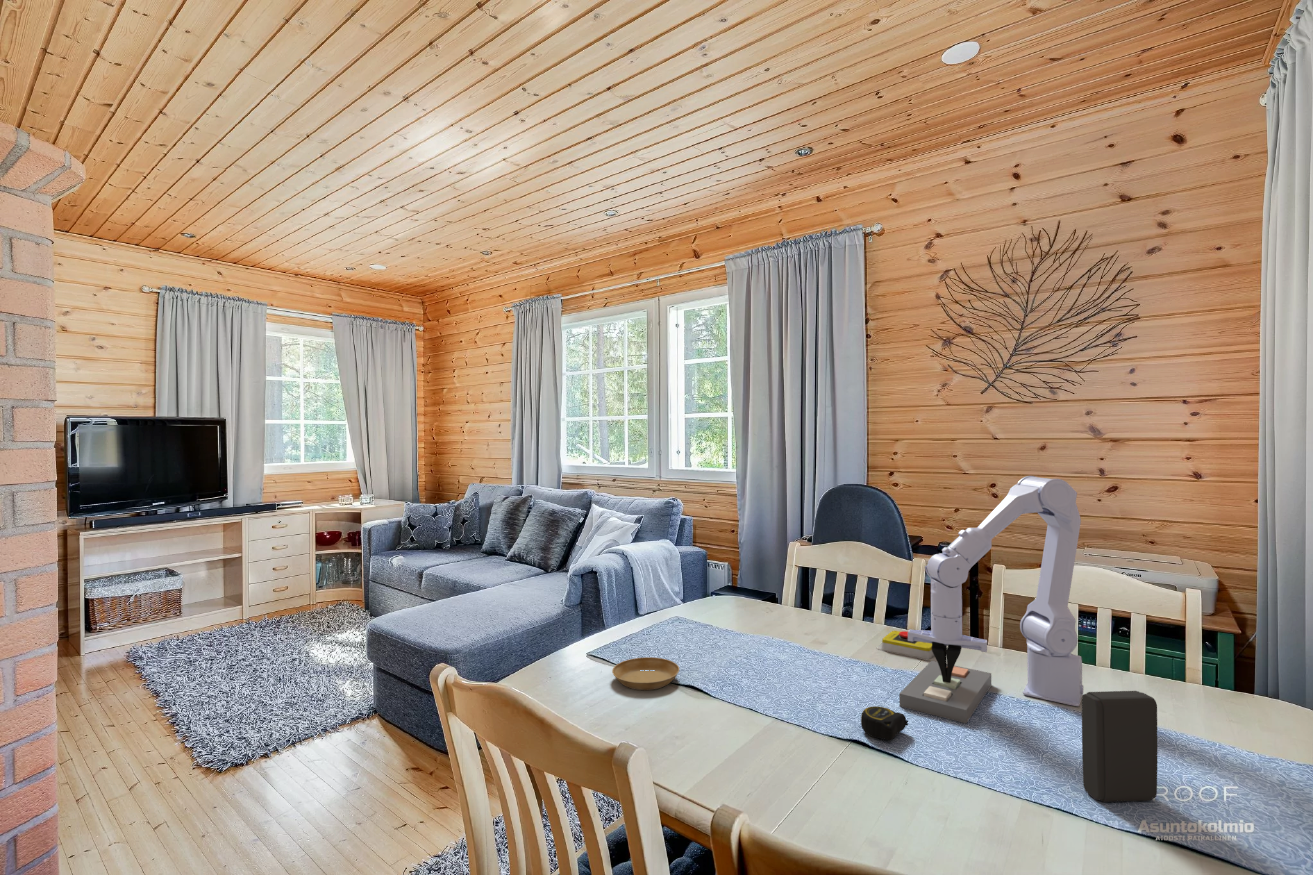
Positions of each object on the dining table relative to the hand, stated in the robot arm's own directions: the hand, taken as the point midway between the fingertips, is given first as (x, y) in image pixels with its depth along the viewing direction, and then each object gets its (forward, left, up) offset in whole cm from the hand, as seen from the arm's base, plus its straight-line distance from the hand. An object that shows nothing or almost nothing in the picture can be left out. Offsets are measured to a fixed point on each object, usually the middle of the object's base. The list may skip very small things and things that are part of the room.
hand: (946, 680), depth 126 cm
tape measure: (+4, +24, -3) cm, 24 cm away
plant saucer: (+54, +31, -3) cm, 62 cm away
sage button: (0, 0, -2) cm, 2 cm away
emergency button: (+14, -23, -4) cm, 27 cm away
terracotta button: (0, -7, -2) cm, 7 cm away
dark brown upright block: (-29, +22, -3) cm, 37 cm away
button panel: (0, 0, -3) cm, 3 cm away
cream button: (0, +7, -2) cm, 7 cm away
